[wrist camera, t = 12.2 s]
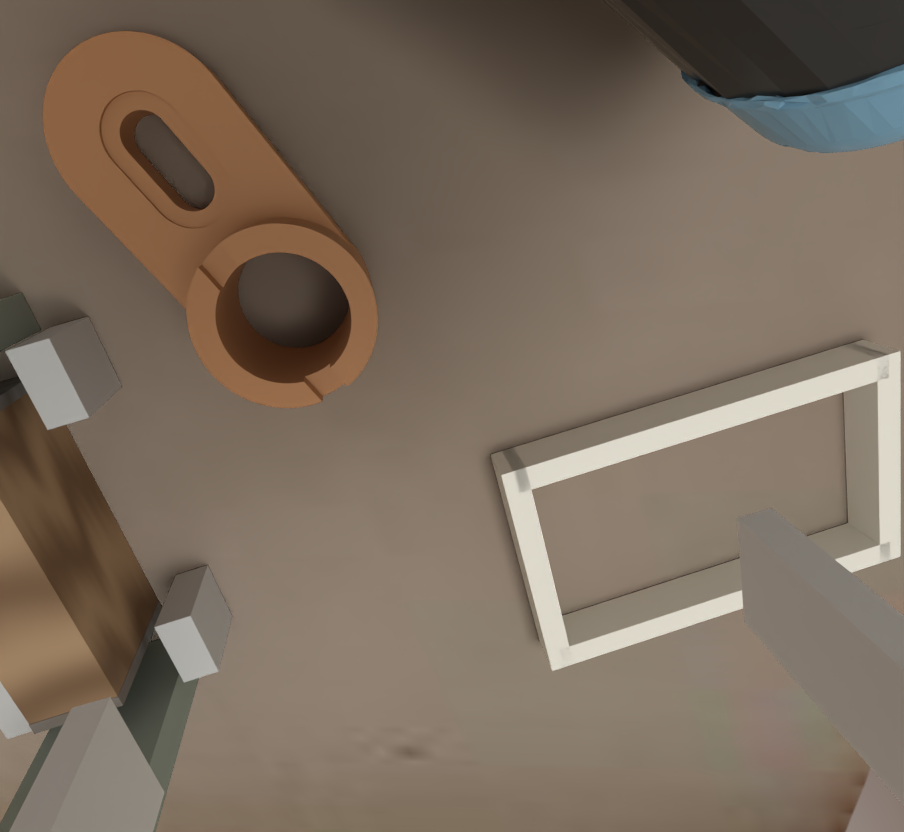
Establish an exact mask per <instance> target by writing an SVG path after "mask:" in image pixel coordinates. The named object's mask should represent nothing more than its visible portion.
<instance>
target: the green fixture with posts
mask: <svg viewBox="0 0 904 832" xmlns="http://www.w3.org/2000/svg"><path fill="white" fill-rule="evenodd" d="M40 330H41V329H40V327H39V325H38V323H37V321H36V319H35V317H34V315H33V313H32V311H31V309H30V308H29V306H28V304H27V302H26V300H25V298H24V296H23V294H22V293H20V294H16V295H13V296H9V297H6V298H2V299H0V351H1V350H3V349H5V348H7V347H9V346H11V345H13V344H15V343H17V342H19V341H21V340H23V339H25V338H26V337H28V336H30V335H32V334H34V333H36V332H38V331H40ZM5 352H6V354H7V356H8V358H9V360H10V361H11V363H12V365H13V367H14V369H15V371H16V372H17V374H18V376H19V378H20V380H21V382H22V384H23V385H24V387H25V389H26V391H27V393H28V395H29V397H30V398H31V400H32V402H33V404H34V406H35V408H36V410H37V411H38V413H39V415H40V417H41V419H42V421H43V422H44V424H45V426H46V428H47V430H49V429H53V428H56V427H60V426H63V425H66V424H70V423H73V422H77V421H80V420H83V419H87V418H90V417H91V416H92V415H93V414H94V413H95V412H96V411H97V410H98V409H99V408H100V407H101V406H102V405H103V404H104V403H105V402H106V401H107V400H108V399H109V398H110V397H111V396H112V395H113V394H114V393H115V392H116V391H117V390H119V389H120V388H121V387H122V385H121V383H120V381H119V379H118V377H117V375H116V373H115V371H114V369H113V367H112V365H111V362H110V360H109V358H108V356H107V354H106V352H105V350H104V348H103V346H102V344H101V342H100V340H99V337H98V335H97V333H96V331H95V329H94V327H93V325H92V323H91V321H90V319H89V317H84V318H81V319H77V320H74V321H70V322H67V323H63V324H60V325H56V326H53V327H50V328H48V329H46V330H44V331H42V332H40V333H39V334H37V335H35V336H33V337H31V338H29V339H27V340H25V341H23V342H21V343H20V344H18V345H16V346H14V347H12V348H10V349H8V350H6V351H5ZM231 619H232V615H231V613H230V611H229V608H228V606H227V604H226V602H225V600H224V598H223V596H222V594H221V592H220V590H219V588H218V585H217V583H216V581H215V579H214V577H213V575H212V573H211V571H210V569H209V567H208V565H206V566H203V567H200V568H197V569H194V570H190V571H187V572H184V573H181V574H178V575H176V576H175V578H174V580H173V583H172V585H171V588H170V590H169V593H168V595H167V597H166V600H165V602H164V605H163V607H162V609H161V612H160V614H159V617H158V619H157V622H156V624H155V626H154V628H155V630H156V632H157V634H158V635H159V637H160V639H159V640H156V641H152V642H149V644H148V646H147V649H146V651H145V653H144V656H143V658H142V661H141V663H140V666H139V668H138V670H137V673H136V675H135V678H134V680H133V683H132V685H131V687H130V690H129V692H128V695H127V697H126V700H125V702H124V704H123V706H120V707H117V710H118V711H119V713H120V715H121V717H122V718H123V720H124V722H125V724H126V725H127V727H128V729H129V731H130V732H131V734H132V736H133V738H134V739H135V741H136V743H137V745H138V746H139V748H140V750H141V752H142V753H143V755H144V757H145V759H146V760H147V762H148V764H149V766H150V767H151V769H152V771H153V773H154V774H155V776H156V778H157V780H158V781H159V783H160V785H161V787H162V789H163V790H164V792H165V793H164V796H163V799H162V803H161V806H160V810H159V813H158V817H157V820H156V823H155V827H154V830H153V832H155V831H156V828H157V824H158V821H159V817H160V814H161V810H162V807H163V803H164V800H165V796H166V793H167V789H168V786H169V782H170V778H171V775H172V771H173V768H174V764H175V761H176V757H177V754H178V750H179V747H180V743H181V740H182V736H183V732H184V729H185V725H186V722H187V718H188V715H189V711H190V708H191V704H192V701H193V697H194V694H195V690H196V687H197V683H198V679H199V678H200V677H203V676H206V675H209V674H212V673H215V672H219V668H220V664H221V660H222V656H223V652H224V648H225V644H226V640H227V636H228V632H229V628H230V623H231ZM62 726H63V725H61V726H57V727H54V728H51V729H50V730H49V732H48V733H47V735H46V737H45V739H44V741H43V743H42V745H41V747H40V749H39V751H38V753H37V754H36V756H35V758H34V760H33V762H32V764H31V766H30V768H29V770H28V772H27V773H26V775H25V777H24V779H23V781H22V783H21V785H20V787H19V789H18V791H17V792H16V794H15V796H14V798H13V800H12V802H11V804H10V806H9V808H8V810H7V812H6V813H5V815H4V817H3V819H2V821H1V823H0V832H9V831H10V829H11V827H12V825H13V823H14V821H15V819H16V817H17V815H18V813H19V811H20V809H21V807H22V805H23V803H24V801H25V799H26V797H27V795H28V793H29V791H30V789H31V787H32V785H33V783H34V781H35V779H36V778H37V776H38V774H39V772H40V770H41V768H42V766H43V764H44V762H45V760H46V758H47V756H48V754H49V752H50V750H51V748H52V746H53V744H54V742H55V740H56V738H57V736H58V734H59V732H60V730H61V728H62ZM0 729H1V731H2V732H3V733H4V735H5V736H6V738H7V739H9V738H12V737H16V736H19V735H22V734H25V733H28V732H31V731H32V730H31V728H30V727H29V723H28V722H27V720H26V719H25V717H24V716H23V714H22V713H21V711H20V710H19V709H18V707H17V706H16V704H15V703H14V701H13V700H12V698H11V697H10V695H9V694H8V692H7V691H6V689H5V688H4V686H3V685H2V683H1V682H0Z"/></svg>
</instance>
